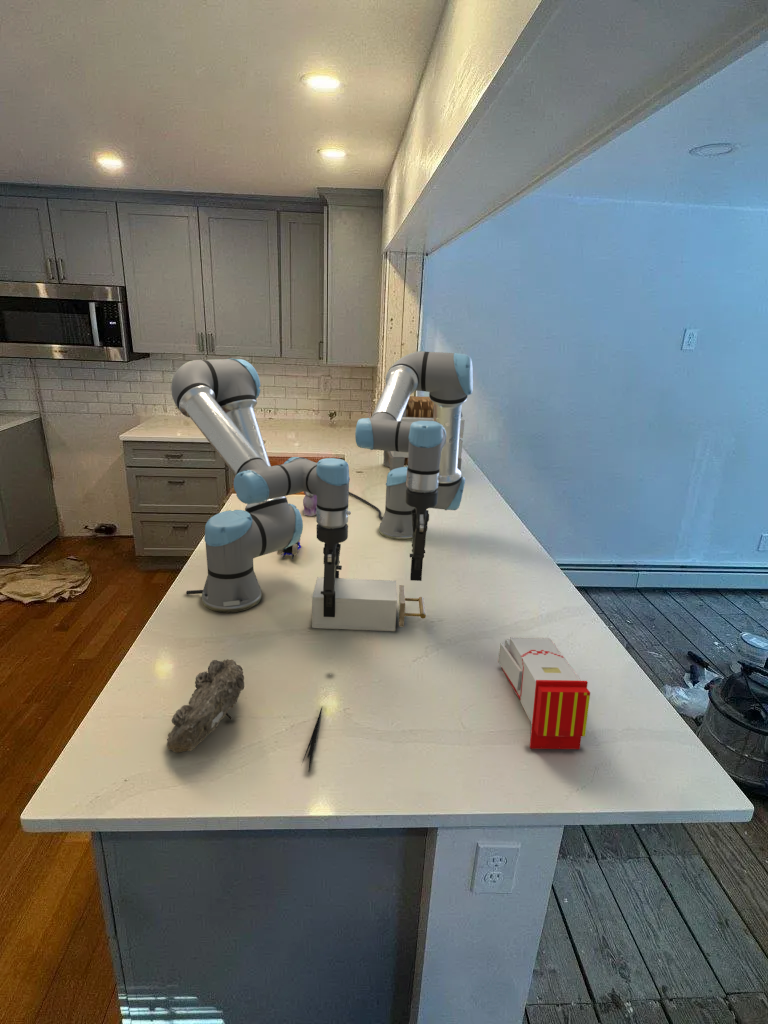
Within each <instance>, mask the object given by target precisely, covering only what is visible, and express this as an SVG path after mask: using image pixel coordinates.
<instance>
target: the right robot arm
mask: <svg viewBox="0 0 768 1024" xmlns="http://www.w3.org/2000/svg"><path fill="white" fill-rule="evenodd" d="M473 368H474V367H473V360H472V357H471V356H470V355H468V354H466V353H459V352H442V351H441V352H440V351H425V350H419V351H414V352H410V353H408V354H405V355H404V356H402V357H400V358H399V359H398V360H396V361H395V362H393V364H391V366H390V367H389V368H388V370H387V373H386V375H385V385H384V388H383V390H382V392H381V394H380V396H379V399H378V401H377V403H376V405H375V408H374V410H373V412H372V414H371V416H370V417H364V418H363V417H361V418H359V419H358V420H357V422H356V426H355V434H354V435H355V438H354V440H355V444H356V446H357V447H358V448H360V449H364V450H365V449H366V450H370V451H373V450H374V451H384V450H385V451H397V452H407V453H408V466H404V467H400V468H396V469H393V470H391V471H390V470H389V472H388V473H387V475H386V482H385V504H384V505H385V507H384V508H385V509H384V513H383V515H382V511H381V510H380V509H379V508H378V506H376V505H374V504H372V503H370V502H369V501H367V500H366V499H364V498H362V497H360V496H358V495H357V494H354V493H352V492H351V491H349V495H350V496H352V497H354V498H356V499H357V500H360V501H362V502H363V503H365V504H366V505H368V506H370V507H372V508H373V509H374V510H375V511H377V513H378V518H379V519H380V520H381V522H379V526H378V533H379V534H380V535H381V536H382V537H385V538H387V539H389V540H395V541H410V540H411V541H412V542H411V548H412V549H411V553H409V558H411V561H410V577H409V578H410V579H409V580H410V581H412V582H413V581H414V582H415V581H416V582H421V581H422V579H423V565H424V564H423V563H424V558H425V554H426V540H427V539H426V538H427V532H428V522H429V521H430V513H429V509H437V510H444V511H456V510H458V509H459V508H460V506H461V502H462V498H463V493H464V488H465V484H466V478H465V477H464V476H462V470H461V471H460V470H459V469H458V468H457V464H458V450H459V436H460V422H461V418H462V417H461V412H462V406H463V404H464V403H466V402H467V400H468V396H470V395H472V394H473V389H474V369H473ZM415 392H428V395H429V396H428V397H429V398H430V400H431V401H432V402H434V413H433V421H417V422H403V421H401V418H402V416H403V413H404V410H405V408H406V405H407V402H408V400H409V397H410V396H411V395H412V394H414V393H415Z"/></svg>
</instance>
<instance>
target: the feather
mask: <svg viewBox="0 0 768 1024" xmlns="http://www.w3.org/2000/svg"><path fill="white" fill-rule="evenodd" d="M329 675H330V676H331V675H332V674H331V673H330V674H329ZM322 710H323V707H321V708H320V710H319V713H318V716H317V719H316V723H315V725H314V728H313V731H312V733H311V737H310V739H309V742H308V745H307V748H306V751H305V754H304V757H303V760H302V763H301V767H302V765H303V763H304V761H305V758H308V759H309V760H308V762H307V763H308V764H307V766H308V771H310V770H311V766H312V765H311V764H312V760H313V757H315V756H314V755H315V751H316V749H315V746H317V739H318V733H319V729H320V722H321V717H322V712H323V711H322ZM313 754H314V755H313ZM306 755H307V757H306Z"/></svg>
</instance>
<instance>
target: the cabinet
mask: <svg viewBox="0 0 768 1024" xmlns="http://www.w3.org/2000/svg"><path fill="white" fill-rule="evenodd" d="M323 586H324V576H322V577H321V576H317V577H316V580H315V584H314V589H313V592H312V596H311V627H312V629H332V630H354V631H355V630H358V631H379V632H380V631H383V632H396V625H397V624H396V623H397V622H396V621H397V608H398V594H397V580H395V579H374V578H373V579H372V578H349V577H348V578H347V577H346V578H344V577H339V578H335V617H324V595H323V594H321V591H323Z"/></svg>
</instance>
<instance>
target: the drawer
mask: <svg viewBox="0 0 768 1024" xmlns="http://www.w3.org/2000/svg"><path fill="white" fill-rule="evenodd" d="M406 602H418V611H419V613H417V612H415V613H414V612H406ZM397 612H398V627H400V628H401V627H405V617H417V618H418V617H419V618H420V619H422V620H423V619H426V617H427V612H426V605H425V598H424V597H423V596H419V597H418V598H417V597H406V595H405V585H404V584H399V588H398V600H397Z"/></svg>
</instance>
